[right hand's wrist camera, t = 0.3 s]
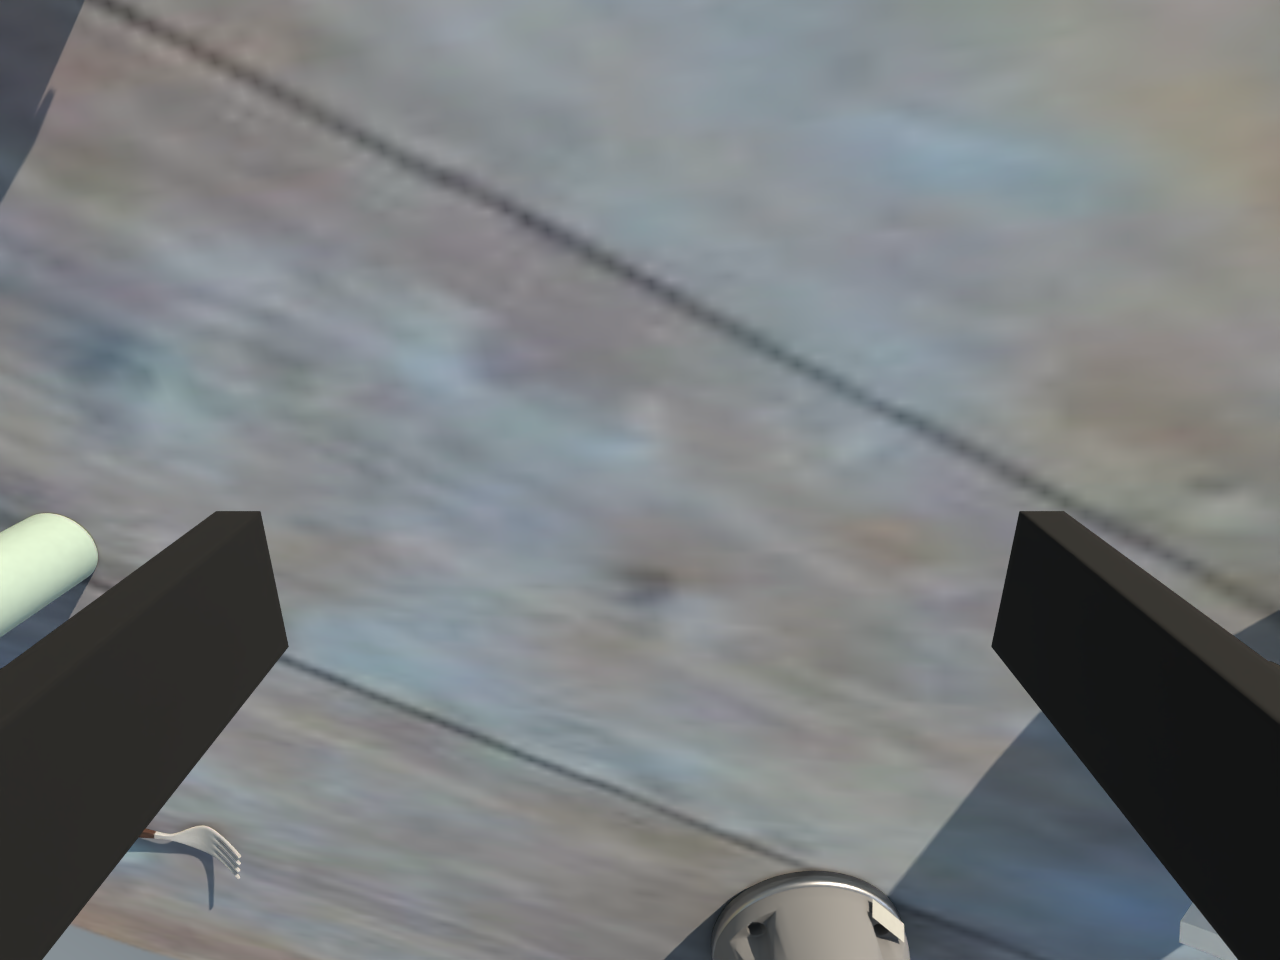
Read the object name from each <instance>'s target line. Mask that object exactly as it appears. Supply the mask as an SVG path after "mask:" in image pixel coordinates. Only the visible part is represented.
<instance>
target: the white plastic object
mask: <svg viewBox="0 0 1280 960" xmlns="http://www.w3.org/2000/svg"><path fill="white" fill-rule="evenodd" d="M1179 943H1182V944H1185V945H1187V946H1190V947H1192V948H1195V949H1197V950H1200V951H1202V952H1205V953H1208V954H1210V955H1213V956H1215V957H1218V958H1220V959H1223V960H1238V959H1237V958H1236V957H1235V955H1234V954H1233V953H1232V952H1231V950H1230V949H1229V948H1228V946H1227V945H1226V944H1225V943H1224V941H1223V940H1222V939H1221V938H1220V936H1219V935H1218V934H1217V933H1216V931H1215V930H1214V929H1213V927H1212V926H1211V925H1210V924H1209V922H1208V921H1207V920H1206V919H1205V917H1204V916H1203V915H1202V913H1201V912H1200V911H1199V910H1198V908H1197V907H1196V906H1195V905H1194V903H1192V904H1191V906H1190V907H1189V909H1188V910H1187V912H1186V913H1185V915H1184V916H1183V918H1182V919H1181V921H1180V937H1179Z"/></svg>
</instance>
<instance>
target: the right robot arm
mask: <svg viewBox="0 0 1280 960" xmlns="http://www.w3.org/2000/svg"><path fill="white" fill-rule="evenodd" d="M288 647H289V646H288V642H287V637H286V632H285V627H284V622H283V617H282V613H281V608H280V603H279V598H278V593H277V589H276V584H275V579H274V574H273V569H272V565H271V560H270V555H269V550H268V545H267V540H266V536H265V531H264V526H263V521H262V516H261V512H260V511H216V512H215V513H213V514H212V515H210V516H209V517H208V518H206V519H205V520H204V521H202V522H201V523H200V524H198V525H197V526H195V527H194V528H193V529H191V530H190V531H189V532H187V533H186V534H185V535H183V536H182V537H180V538H179V539H178V540H176V541H175V542H174V543H172V544H171V545H170V546H168V547H167V548H165V549H164V550H163V551H161V552H160V553H159V554H157V555H156V556H155V557H153V558H152V559H150V560H149V561H148V562H146V563H145V564H144V565H142V566H141V567H140V568H138V569H137V570H135V571H134V572H133V573H131V574H130V575H129V576H127V577H126V578H125V579H123V580H122V581H120V582H119V583H118V584H116V585H115V586H114V587H112V588H111V589H110V590H108V591H107V592H106V593H104V594H103V595H101V596H100V597H99V598H97V599H96V600H95V601H93V602H92V603H91V604H89V605H88V606H86V607H85V608H84V609H82V610H81V611H80V612H78V613H77V614H76V615H74V616H73V617H71V618H70V619H69V620H67V621H66V622H65V623H63V624H62V625H61V626H59V627H58V628H56V629H55V630H54V631H52V632H51V633H50V634H48V635H47V636H46V637H44V638H43V639H41V640H40V641H39V642H37V643H36V644H35V645H33V646H32V647H31V648H29V649H28V650H26V651H25V652H24V653H22V654H21V655H20V656H18V657H17V658H16V659H14V660H13V661H11V662H10V663H9V664H7V665H6V666H5V667H3V668H1V669H0V960H42V959H43V958H44V957H45V955H46V954H47V953H48V952H49V950H50V949H51V948H52V946H53V945H54V944H55V943H56V941H57V940H58V939H59V938H60V936H61V935H62V934H63V933H64V931H65V930H66V929H67V927H68V926H69V925H70V924H71V922H72V921H73V920H74V919H75V917H76V916H77V915H78V913H79V912H80V911H81V910H82V908H83V907H84V906H85V905H86V903H87V902H88V901H89V899H90V898H91V897H92V896H93V894H94V893H95V892H96V891H97V889H98V888H99V887H100V886H101V884H102V883H103V882H104V880H105V879H106V878H107V877H108V875H109V874H110V873H111V872H112V870H113V869H114V868H115V866H116V865H117V864H118V863H119V861H120V860H121V859H122V858H123V856H124V855H125V854H126V852H127V851H128V850H129V849H130V847H131V846H132V845H133V844H134V842H135V841H136V840H137V839H138V837H139V836H140V835H141V833H142V832H143V831H144V830H145V828H146V827H147V826H148V825H149V823H150V822H151V821H152V819H153V818H154V817H155V816H156V814H157V813H158V812H159V811H160V809H161V808H162V807H163V805H164V804H165V803H166V802H167V800H168V799H169V798H170V797H171V795H172V794H173V793H174V792H175V790H176V789H177V788H178V786H179V785H180V784H181V783H182V781H183V780H184V779H185V778H186V776H187V775H188V774H189V772H190V771H191V770H192V769H193V767H194V766H195V765H196V764H197V762H198V761H199V760H200V758H201V757H202V756H203V755H204V753H205V752H206V751H207V750H208V748H209V747H210V746H211V745H212V743H213V742H214V741H215V739H216V738H217V737H218V736H219V734H220V733H221V732H222V731H223V729H224V728H225V727H226V725H227V724H228V723H229V722H230V720H231V719H232V718H233V717H234V715H235V714H236V713H237V711H238V710H239V709H240V708H241V706H242V705H243V704H244V703H245V701H246V700H247V699H248V698H249V696H250V695H251V694H252V692H253V691H254V690H255V689H256V687H257V686H258V685H259V684H260V682H261V681H262V680H263V678H264V677H265V676H266V675H267V673H268V672H269V671H270V670H271V668H272V667H273V666H274V664H275V663H276V662H277V661H278V659H279V658H280V657H281V656H282V654H283V653H284V652H285V651H286V649H287V648H288ZM991 647H992V648H993V649H994V651H995V652H996V653H997V654H998V656H999V657H1000V658H1001V659H1002V661H1003V662H1004V663H1005V664H1006V666H1007V667H1008V668H1009V670H1010V671H1011V672H1012V673H1013V675H1014V676H1015V677H1016V678H1017V680H1018V681H1019V682H1020V684H1021V685H1022V686H1023V687H1024V689H1025V690H1026V691H1027V692H1028V694H1029V695H1030V696H1031V698H1032V699H1033V700H1034V701H1035V703H1036V704H1037V705H1038V706H1039V708H1040V709H1041V710H1042V711H1043V713H1044V714H1045V715H1046V717H1047V718H1048V719H1049V720H1050V722H1051V723H1052V724H1053V725H1054V727H1055V728H1056V729H1057V731H1058V732H1059V733H1060V734H1061V736H1062V737H1063V738H1064V739H1065V741H1066V742H1067V743H1068V745H1069V746H1070V747H1071V748H1072V750H1073V751H1074V752H1075V753H1076V755H1077V756H1078V757H1079V758H1080V760H1081V761H1082V762H1083V764H1084V765H1085V766H1086V767H1087V769H1088V770H1089V771H1090V772H1091V774H1092V775H1093V776H1094V778H1095V779H1096V780H1097V781H1098V783H1099V784H1100V785H1101V786H1102V788H1103V789H1104V790H1105V792H1106V793H1107V794H1108V795H1109V797H1110V798H1111V799H1112V800H1113V802H1114V803H1115V804H1116V805H1117V807H1118V808H1119V809H1120V811H1121V812H1122V813H1123V814H1124V816H1125V817H1126V818H1127V819H1128V821H1129V822H1130V823H1131V825H1132V826H1133V827H1134V828H1135V830H1136V831H1137V832H1138V833H1139V835H1140V836H1141V837H1142V839H1143V840H1144V841H1145V842H1146V844H1147V845H1148V846H1149V847H1150V849H1151V850H1152V851H1153V852H1154V854H1155V855H1156V856H1157V858H1158V859H1159V860H1160V861H1161V863H1162V864H1163V865H1164V866H1165V868H1166V869H1167V870H1168V872H1169V873H1170V874H1171V875H1172V877H1173V878H1174V879H1175V880H1176V882H1177V883H1178V884H1179V886H1180V887H1181V888H1182V889H1183V891H1184V892H1185V893H1186V894H1187V896H1188V897H1189V898H1190V899H1191V901H1192V902H1193V903H1194V905H1195V906H1196V907H1197V908H1198V910H1199V911H1200V912H1201V913H1202V915H1203V916H1204V917H1205V919H1206V920H1207V921H1208V922H1209V924H1210V925H1211V926H1212V927H1213V929H1214V930H1215V931H1216V933H1217V934H1218V935H1219V936H1220V938H1221V939H1222V940H1223V941H1224V943H1225V944H1226V945H1227V946H1228V948H1229V949H1230V950H1231V952H1232V953H1233V954H1234V955H1235V957H1236V958H1237V959H1238V960H1280V666H1279V665H1277V664H1275V663H1273V662H1271V661H1267V660H1266V659H1264V658H1263V657H1262V656H1260V655H1259V654H1258V653H1256V652H1255V651H1254V650H1252V649H1251V648H1249V647H1248V646H1247V645H1245V644H1244V643H1243V642H1241V641H1240V640H1239V639H1237V638H1236V637H1234V636H1233V635H1232V634H1230V633H1229V632H1228V631H1226V630H1225V629H1224V628H1222V627H1221V626H1219V625H1218V624H1217V623H1215V622H1214V621H1213V620H1211V619H1210V618H1209V617H1207V616H1206V615H1204V614H1203V613H1202V612H1200V611H1199V610H1198V609H1196V608H1195V607H1194V606H1192V605H1191V604H1189V603H1188V602H1187V601H1185V600H1184V599H1183V598H1181V597H1180V596H1179V595H1177V594H1176V593H1174V592H1173V591H1172V590H1170V589H1169V588H1168V587H1166V586H1165V585H1164V584H1162V583H1161V582H1160V581H1158V580H1157V579H1155V578H1154V577H1153V576H1151V575H1150V574H1149V573H1147V572H1146V571H1145V570H1143V569H1142V568H1140V567H1139V566H1138V565H1136V564H1135V563H1134V562H1132V561H1131V560H1130V559H1128V558H1127V557H1125V556H1124V555H1123V554H1121V553H1120V552H1119V551H1117V550H1116V549H1115V548H1113V547H1112V546H1110V545H1109V544H1108V543H1106V542H1105V541H1104V540H1102V539H1101V538H1100V537H1098V536H1097V535H1095V534H1094V533H1093V532H1091V531H1090V530H1089V529H1087V528H1086V527H1085V526H1083V525H1082V524H1080V523H1079V522H1078V521H1076V520H1075V519H1074V518H1072V517H1071V516H1070V515H1068V514H1067V513H1065V512H1064V511H1020V512H1019V516H1018V521H1017V526H1016V531H1015V536H1014V540H1013V545H1012V550H1011V555H1010V560H1009V565H1008V569H1007V574H1006V579H1005V584H1004V589H1003V593H1002V598H1001V603H1000V608H999V613H998V617H997V622H996V627H995V632H994V637H993V642H992V646H991ZM711 950H712V960H910V951H909V945H908V940H907V935H906V932H905V929H904V924H903V923H902V921H901V918H900V915H899V913H898V911H897V909H896V907H895V906H894V904H893V903H892V902H891V901H890V899H889V898H888V897H887V896H886V895H885V894H884V893H883V892H881V891H880V890H879V889H877V888H876V887H874V886H872V885H871V884H869V883H867V882H865V881H863V880H861V879H858V878H855V877H852V876H849V875H845V874H840V873H835V872H826V871H803V872H795V873H789V874H784V875H780V876H776V877H773V878H770V879H767V880H765V881H762V882H760V883H758V884H756V885H754V886H752V887H750V888H748V889H747V890H745V891H744V892H742V893H741V894H739V895H738V896H737V897H735V898H734V899H733V900H732V901H731V902H730V903H729V904H728V905H727V906H726V907H725V909H724V910H723V911H722V913H721V914H720V916H719V917H718V919H717V921H716V923H715V926H714V928H713V932H712V938H711Z"/></svg>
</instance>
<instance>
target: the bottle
mask: <svg viewBox="0 0 1280 960" xmlns="http://www.w3.org/2000/svg"><path fill="white" fill-rule="evenodd" d="M97 562H98V553H97V548H96V546H95V543H94V541H93V539H92V538H91V536H90V535H89V534H88V533H87V532H86V531H85V530H84V529H83V528H82V527H81V526H80V525H79V524H77V523H76V522H74V521H72V520H71V519H69V518H66V517H64V516H61V515H57V514H50V513H42V514H36V515H33V516H31V517H29V518H27V519H25V520H23V521H21V522H19V523H17V524H16V525H14V526H12V527H10V528H8V529H6V530H4V531H2V532H0V637H2V636H3V635H5V634H6V633H8V632H9V631H10V630H12V629H13V628H15V627H16V626H18V625H19V624H21V623H22V622H23V621H25V620H26V619H28V618H29V617H31V616H32V615H34V614H35V613H37V612H38V611H39V610H41V609H42V608H44V607H45V606H47V605H48V604H50V603H51V602H53V601H54V600H55V599H57V598H58V597H60V596H61V595H63V594H64V593H66V592H67V591H68V590H70V589H71V588H73V587H74V586H76V585H77V584H79V583H80V582H82V581H83V580H84V579H86V578H87V577H89V576H90V575H91V574H92V573H93V571H94V570H95V568H96V566H97Z"/></svg>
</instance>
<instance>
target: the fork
mask: <svg viewBox="0 0 1280 960" xmlns="http://www.w3.org/2000/svg"><path fill="white" fill-rule="evenodd" d="M139 837H140V838H156V839H166V840H171V841H175V842H179V843H182V844H185V845H188V846H191V847H194V848H196V849H199V850H201V851H204V852H206V853H208V854H210V855H212V856H214V857H215V858H217V859H218V860H219V861H221V862H222V863H223V864H224V865H225V866H226V867H227V868H228V869H229V870H230V871H231V872H232V873H233V874H234V875H235V876H236V877H237V879H239V878H240V876H239V875H238V874H237V872H236V871H235V870H234V869H233V868H232V867H231V866H230V865H229V864H228V863H227V862H226V861H225V860H224V859H223V858H222V857H221V856H220V855H219V854H221V855H222V856H223V857H224V858H225V859H226V860H227V861H228V862H229V863H230V864H231V865H232V866H233V867H234V868H235V869H236V870H237V871H238V872H239V871H240V869H239V868H238V866H237V865H236V864H235V863H234V862H233V861H232V860H231V859H230V858H229V856H228V855H227V854H226V853H228V854H229V855H230V856H231V857H232V858H233V860H234V861H235V862H236V863H237V864H238V865H240V864H241V863H240V861H239V860H238V859H237V858H236V857H235V856H234V855H233V854H232V852H231V851H230V850H229V849H228V848H227V847H226V846H225V845H224V844H222V843H221V842H220V841H219V840H218V839H220V840H221V841H222V842H223V843H225V844H226V845H227V846H228V847H229V848H230V849H231V850H232V851H233V852H234V853H235V854H236V855H237V857H238V858H240V857H241V855H240V854H239V853H238V852H237V851H236V849H235V848H234V847H233V846H232V845H231V844H230V843H229V842H228V841H227V840H226V839H225V838H224V837H223V836H221V835H220V834H219V833H218V832H217V831H215V830H214V829H212V828H210V827H208V826H195V827H192V828H189V829H186V830H184V831H181V832H178V833H175V834H166V833H161V832H157V831H153V830H149V829H146V828H145V830H144V831H143V832H142V833H141V835H140V836H139ZM217 845H218V846H220V847H221V848H222V849H223V850H224V851H225V852H226V853H224V852H223V851H222V850H221V849H220V848H219V847H218V846H217ZM217 852H218V853H219V854H218V853H217Z"/></svg>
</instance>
